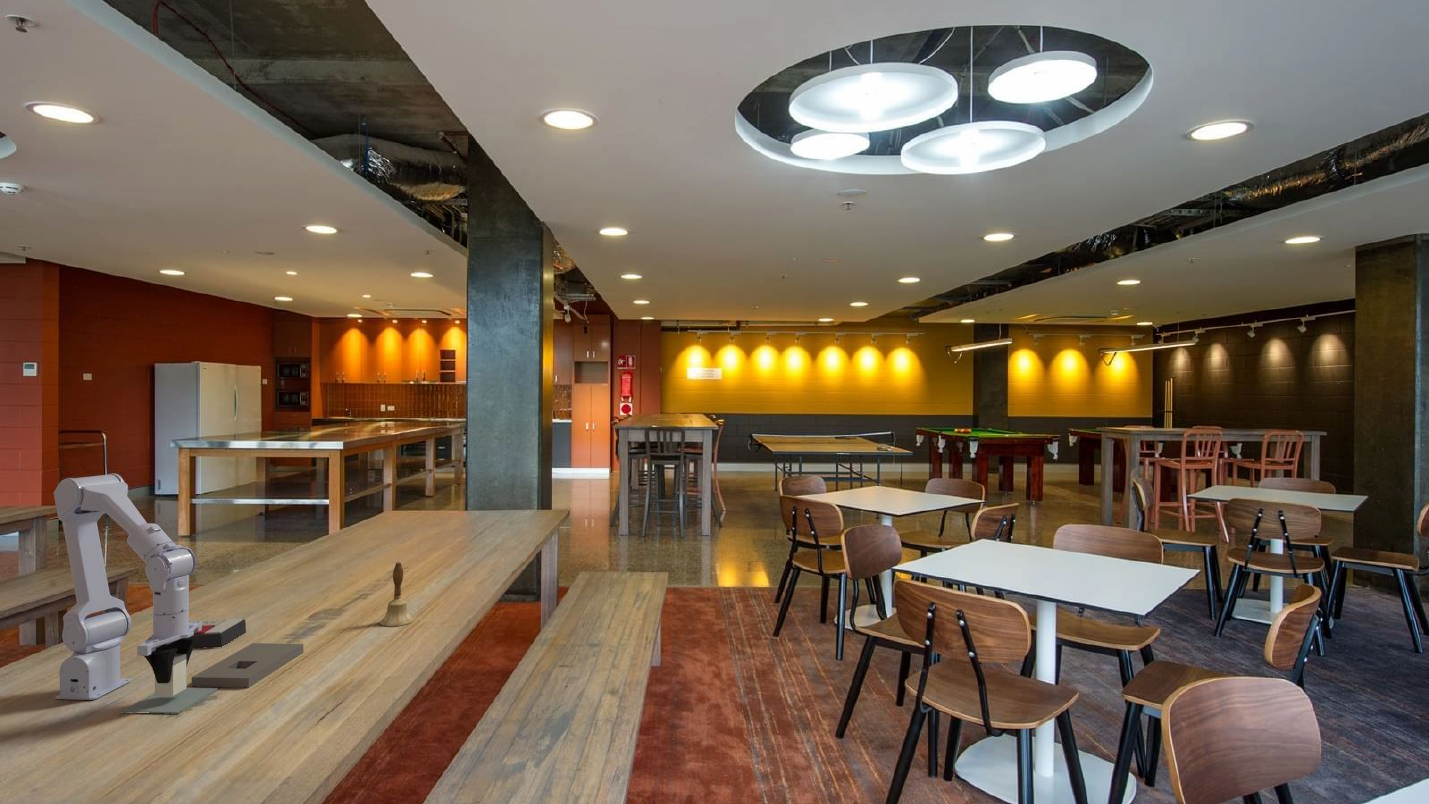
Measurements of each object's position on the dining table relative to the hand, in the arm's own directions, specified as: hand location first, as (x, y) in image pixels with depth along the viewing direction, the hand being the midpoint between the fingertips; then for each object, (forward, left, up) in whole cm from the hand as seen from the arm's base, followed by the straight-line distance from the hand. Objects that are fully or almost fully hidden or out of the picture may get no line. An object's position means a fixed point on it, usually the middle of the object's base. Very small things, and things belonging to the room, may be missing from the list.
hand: (171, 678), depth 145 cm
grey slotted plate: (+17, -5, -5) cm, 18 cm away
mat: (0, 0, -5) cm, 5 cm away
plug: (0, 0, -3) cm, 3 cm away
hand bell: (+50, -23, -5) cm, 55 cm away
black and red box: (+34, +18, -5) cm, 39 cm away
